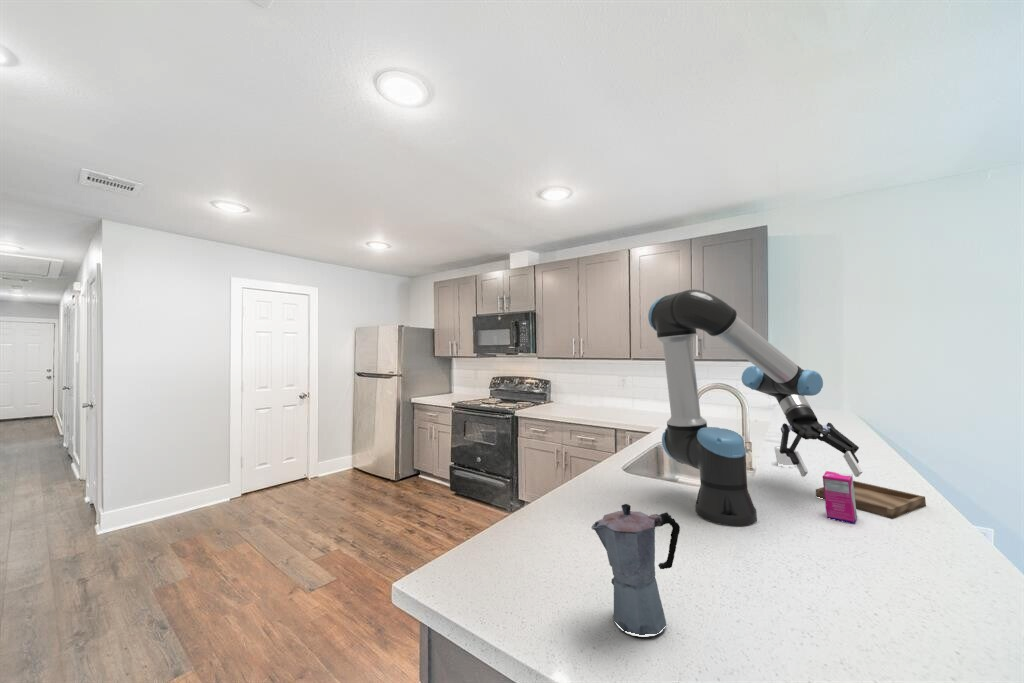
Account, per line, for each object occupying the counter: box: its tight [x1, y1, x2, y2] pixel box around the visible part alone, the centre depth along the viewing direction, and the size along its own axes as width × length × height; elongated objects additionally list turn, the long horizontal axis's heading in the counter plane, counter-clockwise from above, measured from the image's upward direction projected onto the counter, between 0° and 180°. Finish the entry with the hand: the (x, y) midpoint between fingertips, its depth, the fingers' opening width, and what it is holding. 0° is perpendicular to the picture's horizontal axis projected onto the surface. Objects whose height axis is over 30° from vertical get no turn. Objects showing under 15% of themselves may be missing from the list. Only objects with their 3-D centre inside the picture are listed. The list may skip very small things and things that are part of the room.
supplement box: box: [822, 470, 858, 525], centre depth 104 cm, size 6×6×12 cm
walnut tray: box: [815, 480, 927, 520], centre depth 114 cm, size 18×18×2 cm
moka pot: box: [591, 503, 681, 635], centre depth 68 cm, size 10×15×20 cm, turn 95°
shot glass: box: [774, 445, 797, 465], centre depth 152 cm, size 7×7×7 cm
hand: (831, 474), depth 110 cm, fingers open, 13 cm apart
